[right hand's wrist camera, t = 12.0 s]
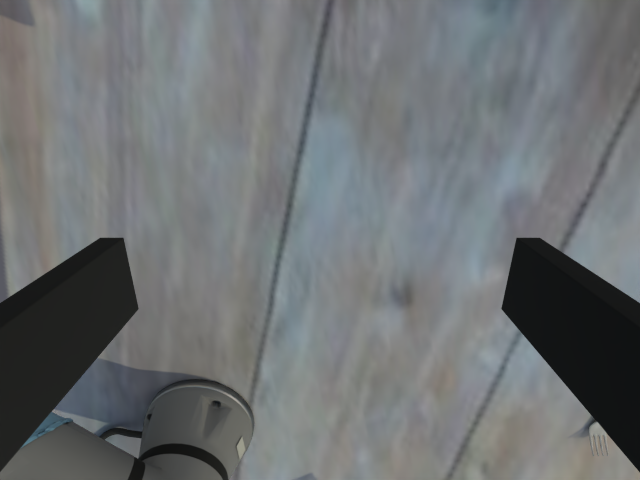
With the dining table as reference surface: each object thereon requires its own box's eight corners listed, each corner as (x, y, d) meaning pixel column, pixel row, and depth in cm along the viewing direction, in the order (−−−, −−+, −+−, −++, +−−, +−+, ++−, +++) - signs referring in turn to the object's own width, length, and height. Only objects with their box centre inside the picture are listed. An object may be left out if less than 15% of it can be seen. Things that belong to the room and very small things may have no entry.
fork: (630, 358, 49) (642, 369, 48) (600, 444, 55) (609, 456, 53) (610, 359, 49) (621, 369, 48) (582, 444, 55) (592, 456, 53)
